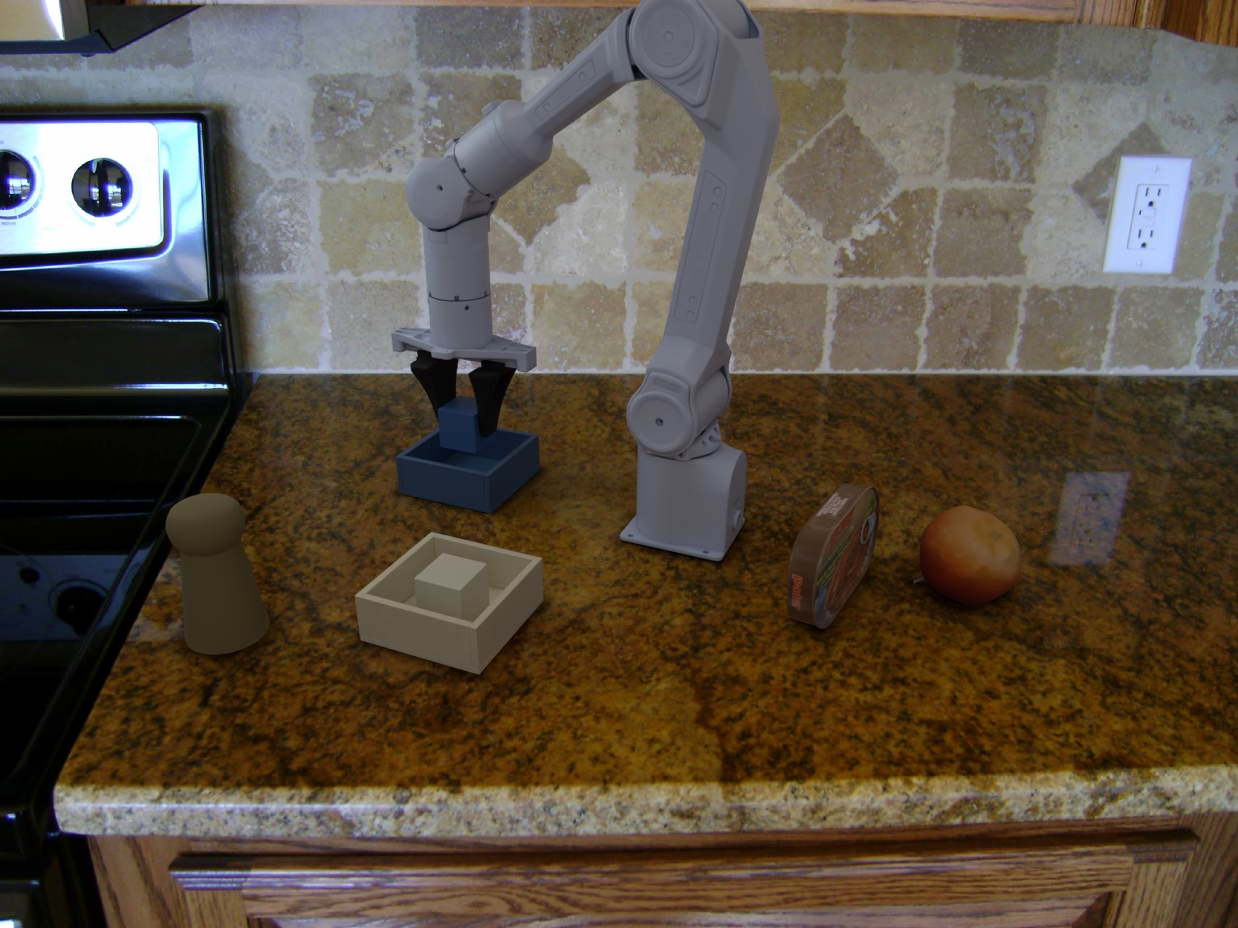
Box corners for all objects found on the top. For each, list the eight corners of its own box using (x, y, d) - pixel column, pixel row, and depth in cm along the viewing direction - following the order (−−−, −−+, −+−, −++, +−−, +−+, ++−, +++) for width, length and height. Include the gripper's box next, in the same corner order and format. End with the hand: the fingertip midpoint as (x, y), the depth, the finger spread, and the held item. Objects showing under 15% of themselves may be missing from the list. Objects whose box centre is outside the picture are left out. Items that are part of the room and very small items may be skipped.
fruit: (925, 532, 82) (983, 478, 77) (989, 602, 80) (1055, 552, 74) (875, 566, 77) (934, 511, 71) (943, 642, 75) (1009, 591, 69)
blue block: (496, 438, 92) (495, 401, 91) (476, 454, 89) (473, 415, 87) (461, 432, 94) (459, 395, 92) (440, 447, 90) (437, 409, 89)
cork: (242, 659, 67) (215, 527, 63) (167, 648, 68) (135, 517, 64) (285, 612, 73) (263, 487, 68) (215, 602, 74) (189, 478, 69)
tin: (812, 649, 69) (825, 552, 66) (773, 635, 71) (783, 540, 67) (877, 559, 81) (890, 473, 77) (842, 549, 82) (853, 464, 79)
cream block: (490, 606, 73) (487, 563, 71) (463, 635, 70) (460, 590, 68) (446, 595, 74) (442, 552, 72) (418, 622, 71) (413, 578, 69)
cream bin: (543, 600, 75) (542, 557, 73) (479, 675, 66) (475, 628, 64) (434, 572, 78) (431, 531, 76) (360, 640, 70) (354, 595, 68)
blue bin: (540, 470, 96) (539, 434, 94) (490, 513, 87) (488, 475, 86) (454, 453, 99) (452, 418, 98) (399, 493, 91) (395, 456, 89)
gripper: (366, 294, 84) (381, 432, 90) (508, 314, 79) (514, 458, 85) (411, 276, 90) (422, 406, 96) (545, 294, 85) (548, 430, 91)
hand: (467, 429), depth 91 cm, fingers closed on blue block, 4 cm apart
